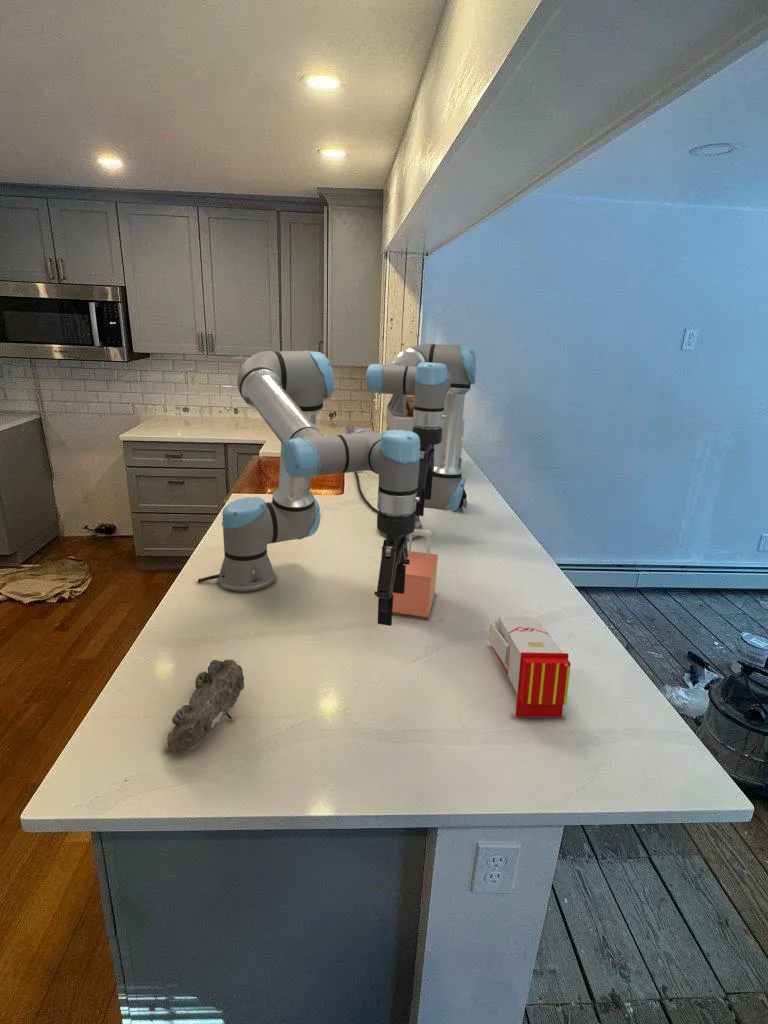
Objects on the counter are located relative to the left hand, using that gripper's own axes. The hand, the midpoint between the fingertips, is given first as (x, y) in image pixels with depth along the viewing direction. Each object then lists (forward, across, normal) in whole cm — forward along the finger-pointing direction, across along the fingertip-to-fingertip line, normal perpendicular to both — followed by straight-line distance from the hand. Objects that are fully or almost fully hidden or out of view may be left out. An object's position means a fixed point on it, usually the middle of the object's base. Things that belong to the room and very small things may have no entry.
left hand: (391, 607), depth 117 cm
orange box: (+5, +33, 0) cm, 33 cm away
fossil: (+16, -22, +30) cm, 40 cm away
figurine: (+16, +185, +59) cm, 195 cm away
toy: (+16, +7, -28) cm, 34 cm away
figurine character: (+16, +116, -4) cm, 117 cm away
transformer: (+16, +161, +18) cm, 163 cm away
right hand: (-10, +38, 0) cm, 39 cm away
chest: (+16, +32, 0) cm, 36 cm away
